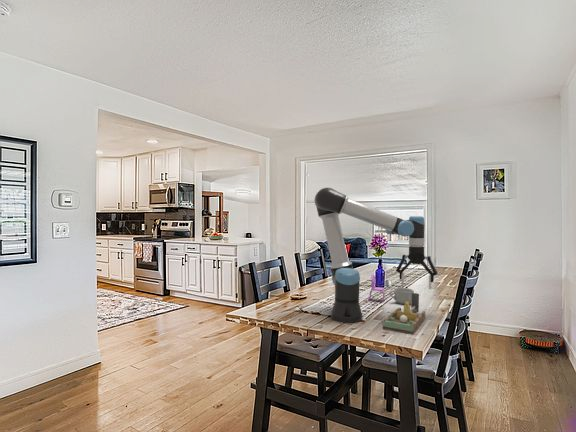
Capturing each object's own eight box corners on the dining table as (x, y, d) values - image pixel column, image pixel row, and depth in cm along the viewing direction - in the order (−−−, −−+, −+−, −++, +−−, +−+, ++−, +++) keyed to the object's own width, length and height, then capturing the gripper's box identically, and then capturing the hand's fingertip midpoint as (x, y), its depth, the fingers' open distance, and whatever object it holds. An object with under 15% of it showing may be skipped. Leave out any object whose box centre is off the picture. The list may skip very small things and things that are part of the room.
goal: (413, 331, 157) (413, 325, 157) (382, 326, 163) (383, 320, 163) (416, 326, 163) (417, 321, 163) (387, 321, 170) (387, 316, 170)
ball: (404, 324, 167) (404, 316, 167) (397, 322, 169) (398, 314, 169) (408, 323, 169) (409, 315, 169) (402, 321, 172) (402, 313, 172)
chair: (383, 303, 211) (383, 276, 211) (367, 301, 214) (368, 275, 214) (384, 300, 219) (385, 274, 219) (369, 298, 222) (370, 273, 222)
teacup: (411, 301, 216) (411, 287, 216) (415, 306, 206) (416, 291, 206) (387, 300, 218) (387, 286, 218) (390, 305, 207) (390, 290, 207)
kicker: (416, 321, 172) (416, 302, 172) (396, 318, 176) (397, 299, 176) (424, 311, 190) (425, 294, 190) (406, 309, 195) (407, 292, 194)
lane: (413, 334, 157) (413, 324, 157) (382, 328, 163) (383, 319, 163) (425, 318, 181) (425, 309, 181) (398, 314, 188) (398, 305, 188)
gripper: (443, 246, 187) (443, 288, 187) (394, 244, 200) (393, 283, 200) (441, 247, 181) (440, 291, 181) (390, 245, 193) (390, 285, 194)
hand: (416, 287), depth 191 cm, fingers open, 13 cm apart
